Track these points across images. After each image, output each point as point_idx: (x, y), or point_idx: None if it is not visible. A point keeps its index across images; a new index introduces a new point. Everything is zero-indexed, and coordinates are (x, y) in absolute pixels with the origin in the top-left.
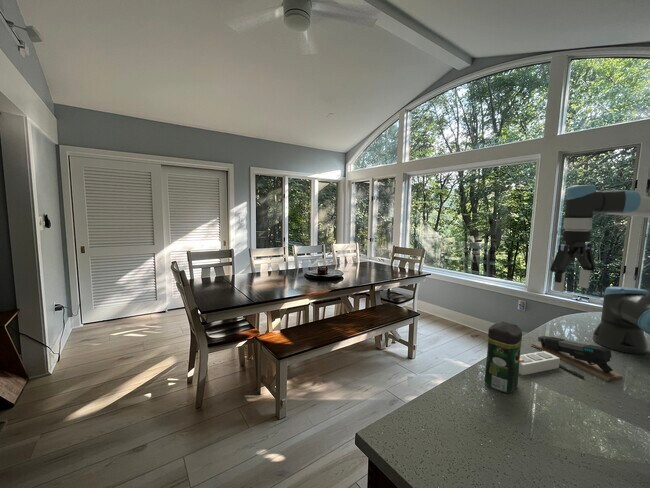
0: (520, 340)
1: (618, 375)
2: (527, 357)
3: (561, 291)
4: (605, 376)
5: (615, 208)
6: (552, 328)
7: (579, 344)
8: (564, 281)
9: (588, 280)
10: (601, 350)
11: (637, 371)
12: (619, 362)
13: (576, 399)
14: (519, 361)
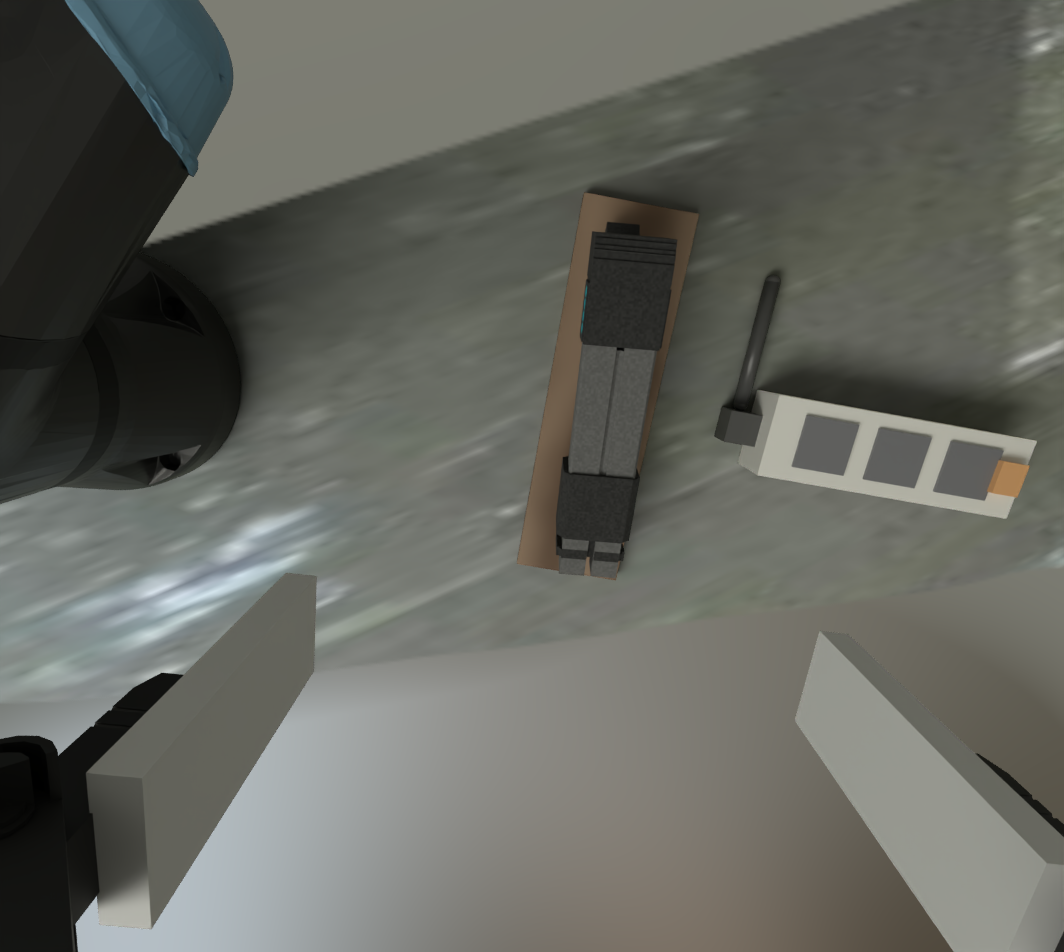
0: None
1: (602, 201)
2: (927, 474)
3: (851, 646)
4: (678, 228)
5: None
6: None
7: (612, 385)
8: (922, 732)
9: (254, 637)
10: (670, 252)
11: (421, 185)
12: (389, 274)
13: (1010, 211)
14: (1023, 466)
